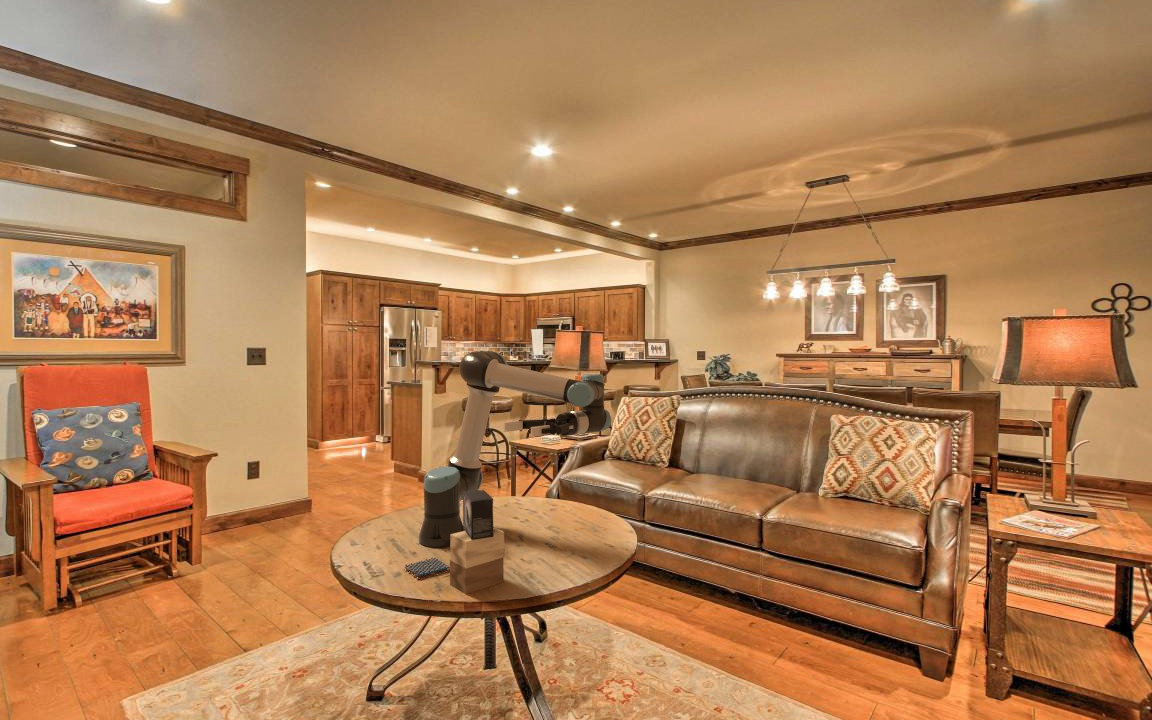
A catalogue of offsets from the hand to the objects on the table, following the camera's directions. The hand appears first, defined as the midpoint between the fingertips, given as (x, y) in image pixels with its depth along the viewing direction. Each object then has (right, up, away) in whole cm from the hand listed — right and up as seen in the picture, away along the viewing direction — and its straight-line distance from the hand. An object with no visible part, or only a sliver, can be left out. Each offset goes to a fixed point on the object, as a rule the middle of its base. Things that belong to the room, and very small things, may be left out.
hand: (517, 429), depth 167 cm
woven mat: (-26, -41, -5) cm, 48 cm away
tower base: (-10, -40, -14) cm, 44 cm away
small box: (-9, -27, -14) cm, 32 cm away
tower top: (-9, -33, -14) cm, 37 cm away
